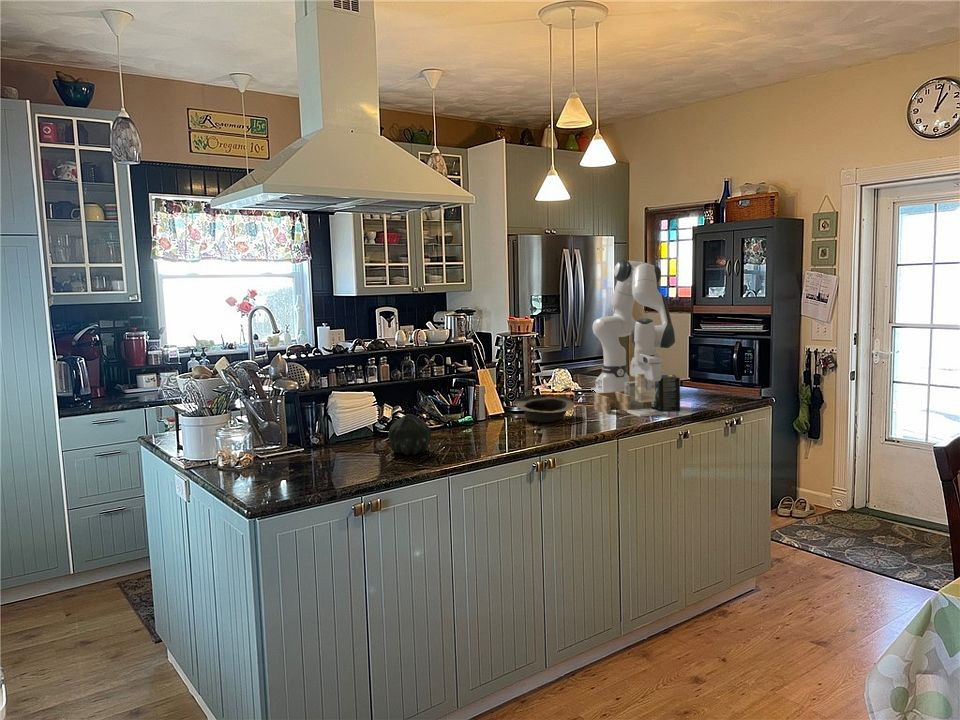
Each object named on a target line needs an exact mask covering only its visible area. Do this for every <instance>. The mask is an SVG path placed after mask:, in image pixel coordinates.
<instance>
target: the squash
mask: <svg viewBox="0 0 960 720" xmlns="http://www.w3.org/2000/svg"><path fill="white" fill-rule="evenodd" d="M431 439H432V431H431V429H430V426H429V425H428V424H427V423H426V421H424V420H423V419H422V418H420V417H418V416H417V415H415V414H412V413H406V414H404V415H403V416H402V417H401V416H400V418H399V419H397V420H395V421H394V422H393V423H391V425H390V427H389V430H388V440H389V441H388V442H389V445H390V447H391V449H392V450H393V451H395V452H398V453H401V454H404V455H405V456H409V455H410V454H411V455H413V456H414V455H417V454H422V453H425V452H426V450H427V449H428V447H429V446H430V443H431Z"/></svg>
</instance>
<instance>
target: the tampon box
mask: <svg viewBox="0 0 960 720" xmlns="http://www.w3.org/2000/svg"><path fill="white" fill-rule="evenodd" d="M653 408H654V409H655V410H657V411H661V412H669V411H670V412H671V411H672V412H673V411H675V412H676V411H681V378H680V377H679V376H677V375H676V374H662V377H661V380H660V381H655V401H653Z"/></svg>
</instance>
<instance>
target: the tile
mask: <svg viewBox="0 0 960 720" xmlns="http://www.w3.org/2000/svg"><path fill="white" fill-rule="evenodd" d="M626 413H629V414H630V415H634V416H636V417H639V418H640V417H641V418H643V417H652V415H653V416H663V415H664V411H659V410H658V409H655V408H654V409H653V408H652V407H651V408H644V409H633V410H627V411H626Z"/></svg>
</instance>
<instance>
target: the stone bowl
mask: <svg viewBox="0 0 960 720" xmlns="http://www.w3.org/2000/svg"><path fill="white" fill-rule="evenodd" d="M514 403H515V407H516V408H519V409H521V410H522V411H524V417H525V418H524V419H525V420H526V421H529V422H530V421H531V422H532V421H533V422H536V423H539V424H540V423H541V424H542V423H553V422H555V421H557V420H560V419H562V418H564V416H565V415H566V413H567V411H569V410H571V409H573V408H574V406H575V404H574V402H573V400H572V399H571V398H570V397H569V396H567V395H560V396H550V395H544V394H541V393H539V394H530V395H528V396H523V397H518V398H516V399H515V400H514Z"/></svg>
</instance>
